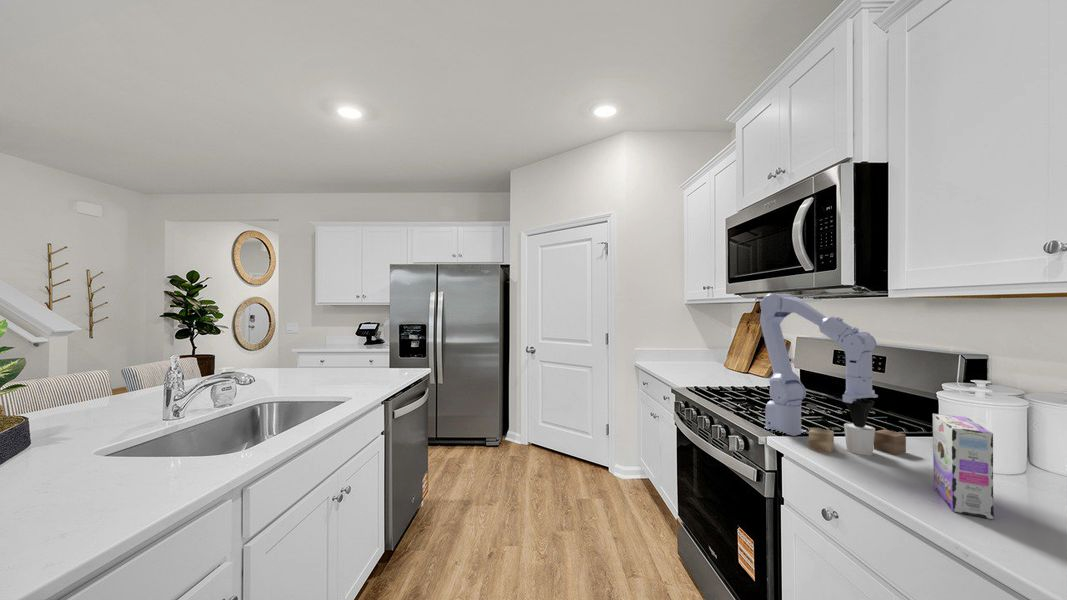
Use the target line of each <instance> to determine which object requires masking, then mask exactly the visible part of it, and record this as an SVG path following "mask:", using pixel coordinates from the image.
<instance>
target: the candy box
mask: <svg viewBox="0 0 1067 600" xmlns="http://www.w3.org/2000/svg"><path fill="white" fill-rule="evenodd" d="M931 420H932V421H931V422H932V451H933V452H932V454H933V455H932V456H933V462H932V463H933V487H934V490H936V491H937V493H938V494H939V495H940V496H941V498H942V499H943V500H944V501H945V503H946V504H947V506H948V507H949V508H950V509H951V510H952V511H953V512H954V513H955V512H956V513H960V514H964V515H969V516H975V517H978V518H979V517H980V518H983V519H987V520H988V519H989V520H995V519H994V518H995V517H994V515H995V514H994V509H995V508H994V433H993V432H991V431H989V430H988V429H986V428H984V427H983V426H981V424H978V423H976V422H975V421H973V420H972V419H970V418H969V417H966V416H958V415H957V416H956V415H950V414H949V415H948V414H938V413H932V419H931Z"/></svg>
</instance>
